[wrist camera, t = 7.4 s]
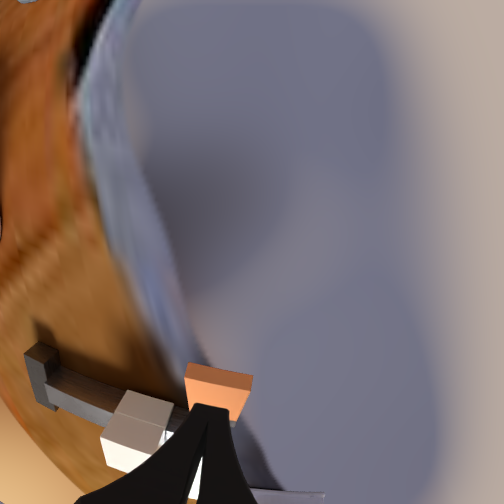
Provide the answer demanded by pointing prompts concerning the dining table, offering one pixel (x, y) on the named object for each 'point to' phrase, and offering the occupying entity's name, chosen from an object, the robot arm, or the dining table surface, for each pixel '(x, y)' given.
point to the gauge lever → (217, 388)
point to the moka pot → (26, 1)
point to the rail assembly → (83, 394)
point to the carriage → (135, 430)
